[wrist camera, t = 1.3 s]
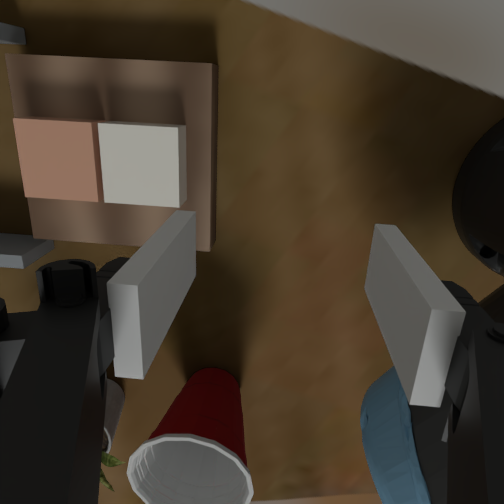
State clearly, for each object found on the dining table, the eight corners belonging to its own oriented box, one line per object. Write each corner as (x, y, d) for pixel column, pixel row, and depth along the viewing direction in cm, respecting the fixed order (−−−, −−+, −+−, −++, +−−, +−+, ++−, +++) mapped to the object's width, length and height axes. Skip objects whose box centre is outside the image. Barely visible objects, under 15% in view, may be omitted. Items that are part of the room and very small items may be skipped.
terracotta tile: (105, 120, 32) (91, 122, 30) (111, 194, 35) (98, 201, 32) (32, 116, 33) (12, 118, 30) (42, 190, 35) (25, 196, 33)
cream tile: (186, 125, 32) (178, 127, 30) (186, 199, 34) (179, 207, 32) (111, 121, 32) (97, 123, 30) (116, 195, 35) (104, 202, 32)
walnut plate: (218, 65, 33) (211, 63, 30) (215, 240, 39) (209, 251, 36) (27, 56, 34) (4, 53, 31) (51, 228, 39) (33, 238, 37)
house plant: (11, 396, 48) (-119, 538, 33) (63, 316, 43) (-60, 437, 28) (115, 458, 50) (39, 617, 35) (175, 388, 45) (118, 536, 30)
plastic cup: (150, 403, 46) (106, 501, 35) (187, 331, 42) (151, 416, 31) (235, 441, 47) (219, 549, 36) (279, 375, 44) (277, 472, 32)
